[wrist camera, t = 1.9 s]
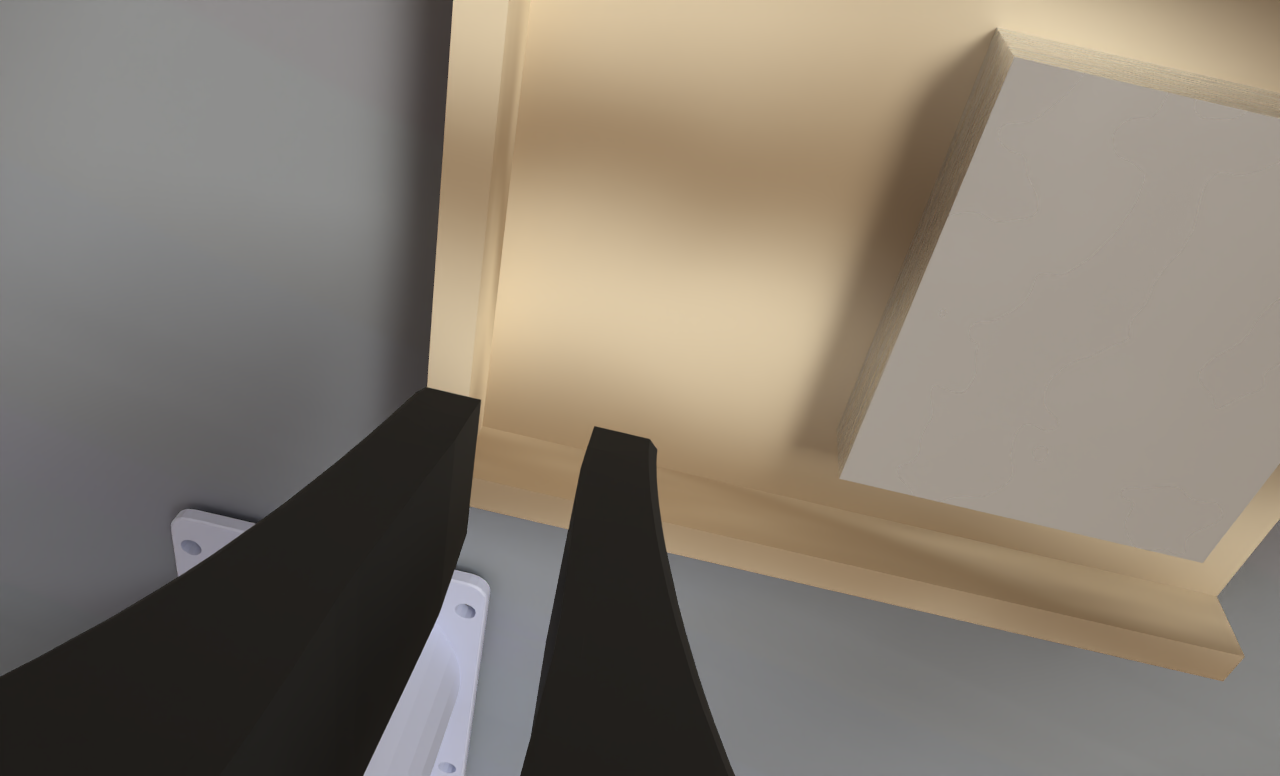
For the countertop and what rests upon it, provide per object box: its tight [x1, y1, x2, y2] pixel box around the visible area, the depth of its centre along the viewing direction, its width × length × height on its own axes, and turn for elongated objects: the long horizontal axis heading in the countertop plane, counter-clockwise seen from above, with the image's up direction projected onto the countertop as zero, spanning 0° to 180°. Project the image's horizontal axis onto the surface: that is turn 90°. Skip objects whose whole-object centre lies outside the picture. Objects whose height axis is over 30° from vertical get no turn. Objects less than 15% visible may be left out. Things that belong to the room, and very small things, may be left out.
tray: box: [427, 0, 1280, 681], centre depth 17 cm, size 14×17×2 cm
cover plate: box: [837, 28, 1280, 563], centre depth 16 cm, size 8×7×2 cm
